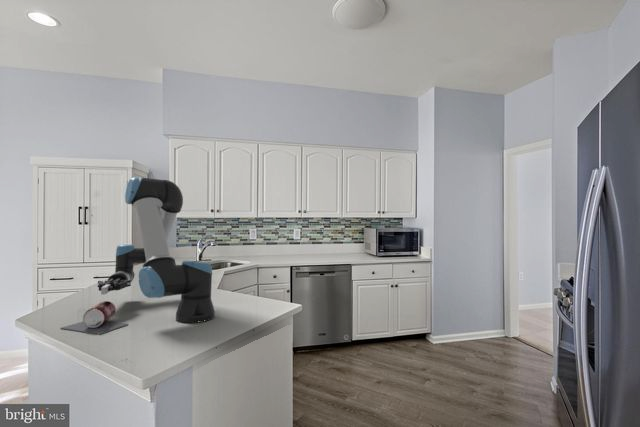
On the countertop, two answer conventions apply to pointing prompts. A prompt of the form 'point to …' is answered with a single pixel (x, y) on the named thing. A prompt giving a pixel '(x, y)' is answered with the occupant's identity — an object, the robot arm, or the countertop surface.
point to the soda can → (99, 314)
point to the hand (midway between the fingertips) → (103, 290)
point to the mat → (100, 330)
